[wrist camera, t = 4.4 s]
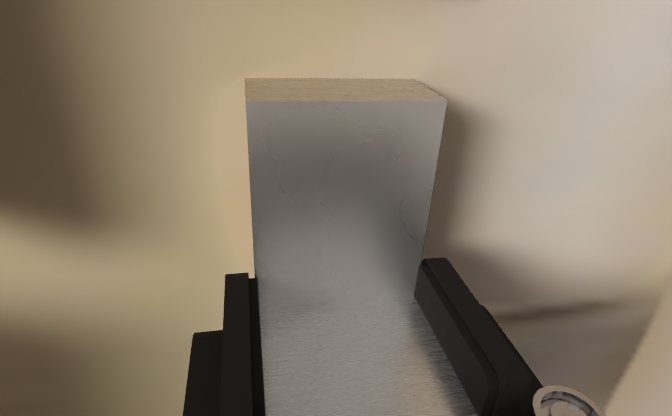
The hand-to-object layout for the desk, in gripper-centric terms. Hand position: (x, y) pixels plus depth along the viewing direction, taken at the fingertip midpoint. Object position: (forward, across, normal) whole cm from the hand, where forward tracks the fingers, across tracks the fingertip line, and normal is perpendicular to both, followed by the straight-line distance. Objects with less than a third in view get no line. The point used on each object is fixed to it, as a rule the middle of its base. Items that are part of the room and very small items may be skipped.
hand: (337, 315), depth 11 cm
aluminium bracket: (+2, 0, -2) cm, 2 cm away
